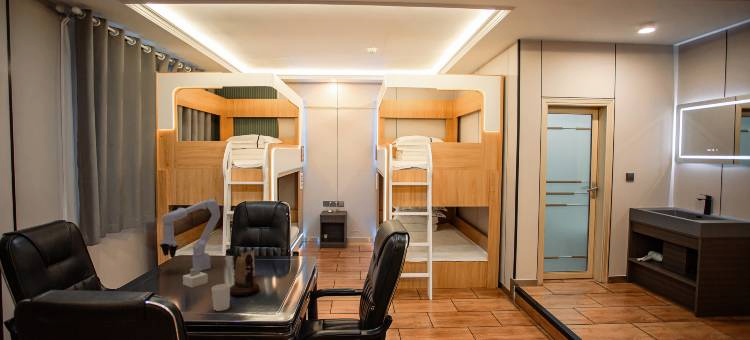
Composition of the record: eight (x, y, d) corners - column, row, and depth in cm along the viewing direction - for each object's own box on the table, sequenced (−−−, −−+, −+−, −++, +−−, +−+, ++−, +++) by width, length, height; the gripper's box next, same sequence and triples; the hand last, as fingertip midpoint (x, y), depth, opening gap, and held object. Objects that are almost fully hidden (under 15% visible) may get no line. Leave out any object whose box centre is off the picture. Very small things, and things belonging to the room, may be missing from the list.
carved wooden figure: (253, 275, 218) (252, 249, 218) (262, 277, 214) (261, 251, 214) (237, 281, 208) (236, 254, 208) (246, 283, 205) (245, 256, 204)
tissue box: (198, 279, 212) (198, 266, 211) (207, 282, 206) (207, 268, 206) (183, 284, 204) (182, 270, 204) (191, 287, 199) (191, 273, 199)
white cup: (224, 312, 168) (223, 290, 168) (208, 311, 170) (207, 289, 169) (234, 305, 176) (233, 284, 175) (219, 304, 177) (218, 283, 177)
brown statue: (222, 296, 187) (221, 256, 186) (241, 285, 201) (240, 249, 200) (247, 299, 183) (246, 259, 182) (264, 288, 197) (263, 251, 196)
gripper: (155, 233, 223) (156, 256, 224) (167, 236, 215) (168, 259, 216) (167, 231, 229) (168, 253, 230) (180, 234, 221) (180, 256, 221)
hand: (169, 256), depth 223 cm, fingers open, 7 cm apart
